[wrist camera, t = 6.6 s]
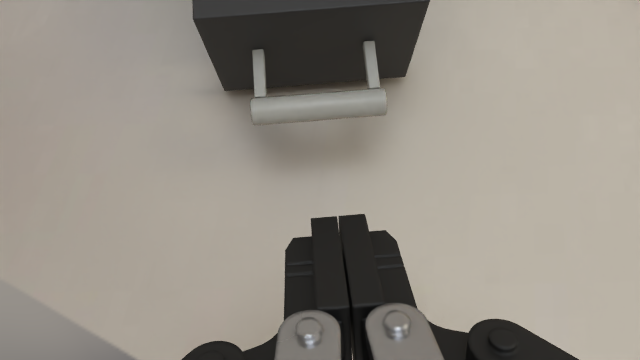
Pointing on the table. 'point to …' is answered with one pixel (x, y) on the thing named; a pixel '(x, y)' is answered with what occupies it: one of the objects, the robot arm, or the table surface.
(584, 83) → the table surface
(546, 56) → the table surface
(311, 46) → the drawer
